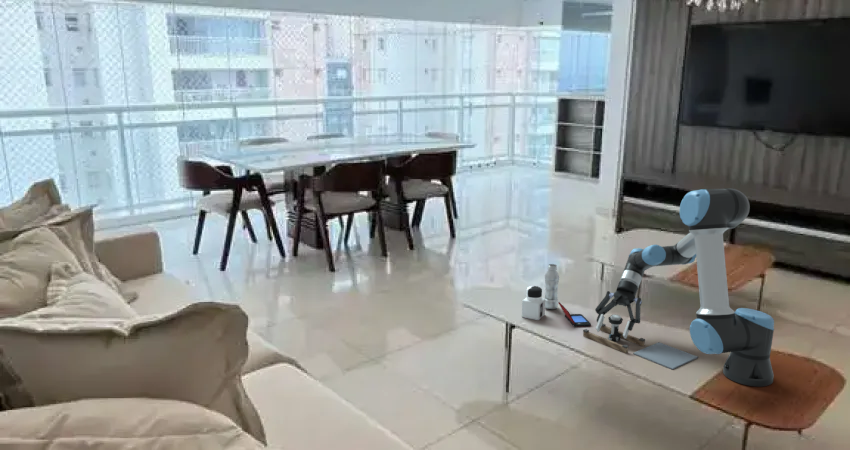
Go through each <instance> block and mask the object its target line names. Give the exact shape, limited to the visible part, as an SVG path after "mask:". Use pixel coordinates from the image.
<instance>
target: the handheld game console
mask: <svg viewBox="0 0 850 450" xmlns="http://www.w3.org/2000/svg"><path fill="white" fill-rule="evenodd" d="M558 306H560V308H561V310H562V312H563V313H564V317H565V318H566V319H567V321H569V322H570V324H571V325H572V326H573V327H574V328H580V327H582V328H583V327H591V326H592V323H591V322H590V321H589V320H588V319H587V318H586V317H584V314H581V313H570V312H569V310H568V309H567V308H566V307H565V306H564V304H562V303H561V302H560V301H558Z"/></svg>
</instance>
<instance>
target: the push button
mask: <svg viewBox="0 0 850 450" xmlns="http://www.w3.org/2000/svg"><path fill="white" fill-rule="evenodd" d="M623 321H624V319H623V318H622V316H621V315H619V314H611V315H610V316H608V322H609V323H610V325H611V327H610V328H611V333H610V334H608V338H607V339H608V340H611V341H613V342H618V341H621V339H622V338H621V334H620V333H619V331H620V330H619V326H620V325H622V323H623Z"/></svg>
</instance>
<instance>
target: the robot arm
mask: <svg viewBox="0 0 850 450" xmlns="http://www.w3.org/2000/svg"><path fill="white" fill-rule="evenodd" d="M750 207H751V206H750V201H749V199H748V197H747V195H746V194H745V193H743V192H741V190H738V189H736V188H705V189H695V190H691V191H688V192H687V193H686V194H685V195H684V196H683V198H682V200H681V202H680V205H679V217H680V219H681V220H682V221H681V222H682V223H683V224H684V225H685V226H687V227H688V233H687V234H686V235H685V236H683V238H681V239H680V240H679V241H678V242H676V243H675V244H674V245H667V246H666V245H665V246H663V245H662V246H661V245H659V244H651V245H648V246H646V247H645V248H640V247H637V248H636V247H635V248H633V249H632V250H631V251H630V253H629V255H628V257H627V261H626V263H625V266H624V269H623V270H622V271H623V272H622V274H621V276H620V279H619V282H618V284H617V287H616V290H615V292H611V291H608V290H607V291H606V294H605V296H604V297H603V298H602V300H601V301H600V302H599V303H598V305H597V306H596V308H595V313H596V314H597V317H596V326H595V330H596V332H598V333H599V332H600V331H601V330H600V328H601V326H602V323H603V324H604V320H605V318H606V317H605V315H606V314H607V313H608V312H609V311H611V310H612V309H614V307H617V306H623V307H627V312H628V315H629V319H628V320H627V322H626V325H625V328H624V330H623V337H624V338H625V339H626V338H627V335H629V332H630V331H632V330H633V328H634V325H636V324H640V323H641V306H642V303H643V300H642V298H641V297H636V295H637V293H638V290H639V287H640V284H641V282H642V280H643V277H644V273H645V271H647V270H649V269H651V268H654V267H663V266H664V267H666V266H676V265H677V266H678V265H682V266H683V265H689V264H692V263H694V262H695V260H696V269H697V271H696V272H697V280H698V290H699V292H698V293H699V303H700V304H699V306H700V308H699V309H698V310H697V311H696V313H695V315H696V317H695V319H693V320H692V321H691V323H690V325H689V335H690V338H691V340H692V343H693V344H694V346H695V347H696V348H697V349H698V350H699V351H700V352H701V353H703V354H707V355H715V354H716V355H720V354H725V353H729V354H728V357H727V358H726V360H725V362H724V364H723V368H722V369H723V370H722V374H723V375H724V376H725V377H726V378H728V379H729V380H731V381H732V382H735V383H737V384H740V385H743V386H744V385H745V386H749V387H757V388H758V387H760V388H761V387H767V386H771V384H773V383H774V371H773V367H772V363H771V351H772V345H773V340H774V339H773V337H774V331H775V328H774V327H775V320H774V318H773V317H772V316H771V315H769V314H768V313H765V312H763V311H760V310H756V309H753V308H746V307H739V308H737V309H735V310H733V308H731V307H730V302H729V301H730V300H729V289H728V279H727V267H726V256H725V255H726V253H725V244H724V234H725V232H726V231H727V230H729V229H735V228H736V227H737V226H738V225H740V224H742V223H743V222H744V220H746V219H747V217H748V215H749V213H750V209H751V208H750ZM612 298H613V299H612ZM610 300H611V301H610ZM633 302H634V303H635V316H634V313H633V309H632V306H631V304H632V303H633Z"/></svg>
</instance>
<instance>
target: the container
mask: <svg viewBox="0 0 850 450" xmlns="http://www.w3.org/2000/svg"><path fill="white" fill-rule="evenodd" d="M525 292H526V295H525V296H526V297H525V298H524V299H522V300H521V301H522V302H521V317H522V318H526V319H529V320H535V321H539V320H540V319H542V318H543V317H544V316H546V315H545V314H546V308H545V297H542V296H543V289H542V287H539V286H538V285H530V286H527V288H526V290H525Z"/></svg>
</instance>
